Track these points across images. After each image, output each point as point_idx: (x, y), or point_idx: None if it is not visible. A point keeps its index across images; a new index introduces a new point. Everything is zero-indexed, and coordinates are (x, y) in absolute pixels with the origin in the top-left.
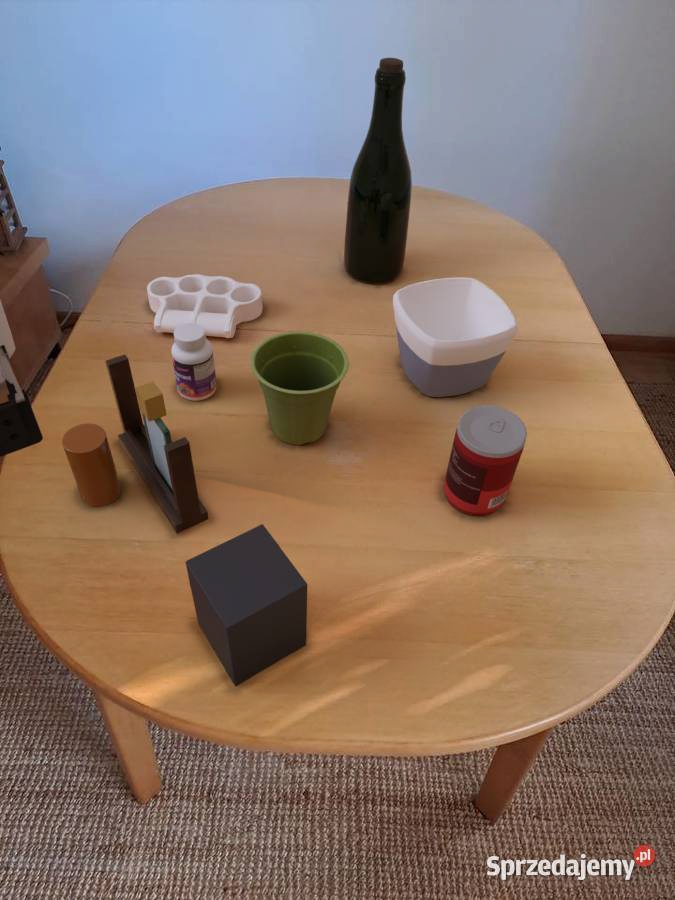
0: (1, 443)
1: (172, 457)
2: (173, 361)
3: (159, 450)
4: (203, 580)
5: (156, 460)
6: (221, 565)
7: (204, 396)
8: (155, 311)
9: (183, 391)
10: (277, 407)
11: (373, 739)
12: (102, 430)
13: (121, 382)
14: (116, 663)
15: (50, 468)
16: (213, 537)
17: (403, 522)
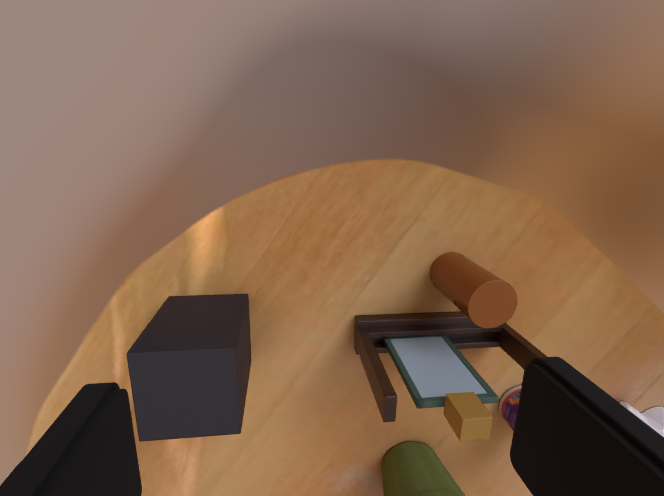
0: (7, 478)
1: (381, 392)
2: None
3: (432, 361)
4: (200, 355)
5: (438, 342)
6: (208, 378)
7: (501, 406)
8: (652, 409)
9: (519, 393)
10: (414, 484)
11: (65, 371)
12: (490, 326)
13: None
14: (248, 214)
15: (511, 237)
16: (331, 342)
17: (249, 489)
